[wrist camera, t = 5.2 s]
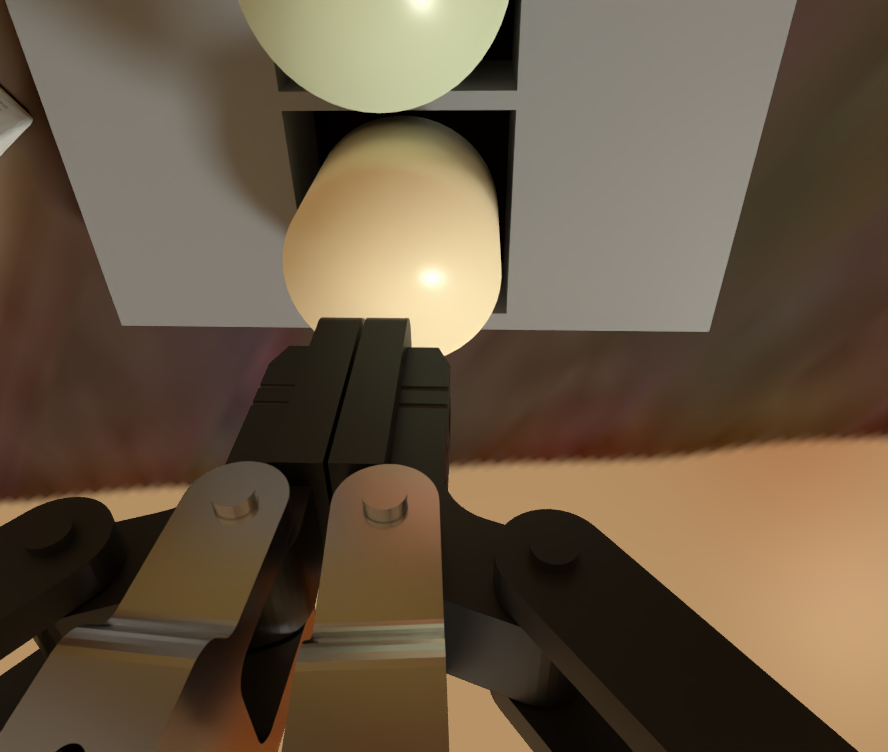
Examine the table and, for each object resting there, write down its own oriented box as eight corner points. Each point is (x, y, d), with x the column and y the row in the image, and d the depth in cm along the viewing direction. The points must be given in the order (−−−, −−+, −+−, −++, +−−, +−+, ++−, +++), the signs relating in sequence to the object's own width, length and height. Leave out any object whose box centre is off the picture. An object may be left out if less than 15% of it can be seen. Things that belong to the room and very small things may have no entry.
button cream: (303, 116, 16) (264, 167, 13) (501, 115, 15) (506, 168, 12) (327, 289, 18) (299, 363, 15) (495, 290, 18) (497, 366, 15)
